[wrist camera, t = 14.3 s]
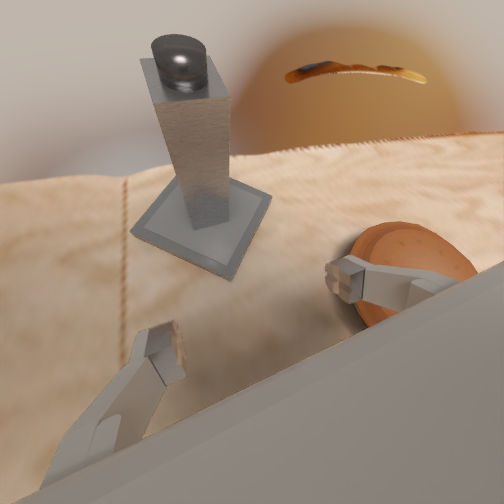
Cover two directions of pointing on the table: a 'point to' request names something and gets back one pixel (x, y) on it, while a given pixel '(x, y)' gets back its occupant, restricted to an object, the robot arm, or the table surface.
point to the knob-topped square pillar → (193, 123)
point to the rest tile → (207, 239)
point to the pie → (406, 258)
